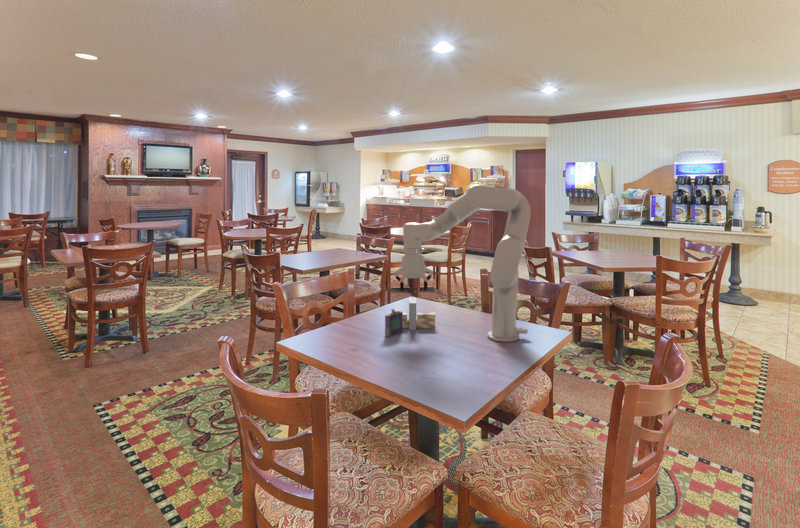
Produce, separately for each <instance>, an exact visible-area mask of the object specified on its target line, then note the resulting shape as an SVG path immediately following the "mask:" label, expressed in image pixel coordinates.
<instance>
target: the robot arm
mask: <svg viewBox="0 0 800 528" xmlns="http://www.w3.org/2000/svg"><path fill="white" fill-rule="evenodd" d="M480 209H486V210H492V211H497V212H498V211H499V212H507V213H508V216H507V220H506V224H505V229H504V233H503V236H502V238H501V239H500V240H499V242H498V243H497V246H496V248H495V252H494V257H493V260H492V264H491V270H490V273H489V280H490V281H491V284H492V285H493V287H492V288H493V289H492V304H491V305H492V306H491V307H492V309H491V310H492V311H491V330H489V331H488V332H487V338H488V339H490V340H492V341H497V342H503V343H510V342H516V341H519V339H520V334H523V335H527V334H528V333H529V332H528V331H529V330H528V328H524V327H523V328H522V327H517V326H516V324H517V305H518V303H517V302H518V290H519V289H518V288H519V287H518V286H519V276H520V275H519V273H520V272H519V265H520V261H521V257H522V255H523V253H524V250H525V244H526V240H527V235H528V231H529V227H530V222H531V213H532V210H531V205H530V203H529V200H528V199H527V198H526V196H525V195H524V194H523V193H522V192H521V191H519V190H517V189H515V188H505V187H496V186H490V185H489V186H488V185H484V184H474V185H471V186H470V187H468V189H467V190H466V192H465V193H464V194H462V195H461V196H459V197H457V199H454V201H452V202H451V203H450V204H449V205H448V207H447V208H446V210H445V211H443V213H441V214H440V215H439V216H437V217H435V218H433V220H431V221H427V222H422V223H419V222H406V223H404V224H403V228H402V229H403V230H402V231H403V233H402V234H403V254H402V257H401V268H399V269H397V270H395V271H394V272H393V276H394V277H395V279H396V280H397V282H399V284H400V285H399V289H400V290H401V292H404V291H405V289H404V288H405V287H404V280H405V279H423V291H424V292H427V290H428V281H430V280H431V278H432V276H433V275H434V270H432V269H430V268H428V267H426V265H425V264H426V263H425V257H424V256H425V255H424V254H423V253H424V252H426V251H425V250H426V248H423V247H422V241H425V242H427V241H428V242H429V241H433V240H435V239H437V238H439V237H441V236H443V235H444V234H445V233H447V232H448V231H450V230H451V229H453V228H454V227H455V226H457V225H459V224H460V223H461V222H463V221H465V220H466V219H467V218H468V217H470V216H471V215H473V214H474V213H476V212H477V211H479V210H480ZM426 272H428V275H427V276H426ZM399 273H401V277H400V276H399V275H398V274H399Z"/></svg>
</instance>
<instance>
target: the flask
mask: <svg viewBox="0 0 800 528" xmlns="http://www.w3.org/2000/svg"><path fill="white" fill-rule="evenodd" d="M390 311H391V312H389V313H390V314H389V313H386V314H385V316H384V328H385V329H384V335H385V337H388V338H389V337H392V336H396V335H400V334H402V333H403V328H402V313H403V312H402V311H399V310H395V309H394V308H391V309H390Z"/></svg>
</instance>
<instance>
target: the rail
mask: <svg viewBox="0 0 800 528" xmlns="http://www.w3.org/2000/svg"><path fill="white" fill-rule="evenodd" d="M390 313H391V312H389V313H388V314H390ZM403 328H404V329H406V328H407V329H409V318H408V312H402V329H403ZM418 328H419V329H421V328H422V329H428V328H429V329H430V328H431V329H435V328H436V312H416V329H418Z"/></svg>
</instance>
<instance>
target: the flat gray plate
mask: <svg viewBox="0 0 800 528" xmlns="http://www.w3.org/2000/svg"><path fill="white" fill-rule="evenodd" d="M408 305H409V306H408V319H409V328H408V330H409V331H417V328H416V319H417V298H416V297H409V298H408Z"/></svg>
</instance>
